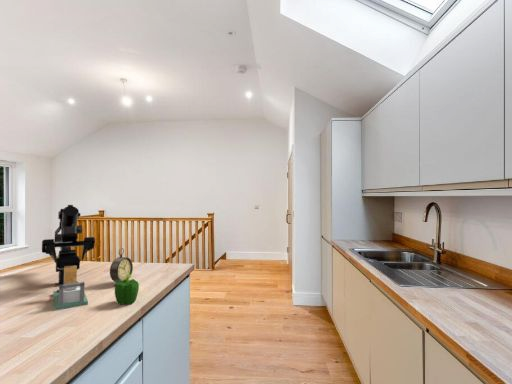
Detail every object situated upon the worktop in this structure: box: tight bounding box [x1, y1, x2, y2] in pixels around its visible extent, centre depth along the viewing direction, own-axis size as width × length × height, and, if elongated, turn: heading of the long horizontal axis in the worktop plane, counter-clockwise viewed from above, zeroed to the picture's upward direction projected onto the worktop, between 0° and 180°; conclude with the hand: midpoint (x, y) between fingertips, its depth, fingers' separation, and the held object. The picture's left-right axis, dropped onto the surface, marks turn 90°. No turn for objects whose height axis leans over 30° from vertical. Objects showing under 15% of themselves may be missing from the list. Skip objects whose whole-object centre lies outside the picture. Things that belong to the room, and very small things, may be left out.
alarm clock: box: [109, 247, 134, 283], centre depth 132 cm, size 11×5×16 cm, turn 168°
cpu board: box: [53, 281, 89, 311], centre depth 111 cm, size 20×10×8 cm, turn 36°
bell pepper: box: [114, 274, 140, 305], centre depth 108 cm, size 8×8×10 cm
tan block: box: [63, 265, 78, 290], centre depth 109 cm, size 10×4×10 cm, turn 36°
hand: (69, 261), depth 118 cm, fingers open, 9 cm apart
